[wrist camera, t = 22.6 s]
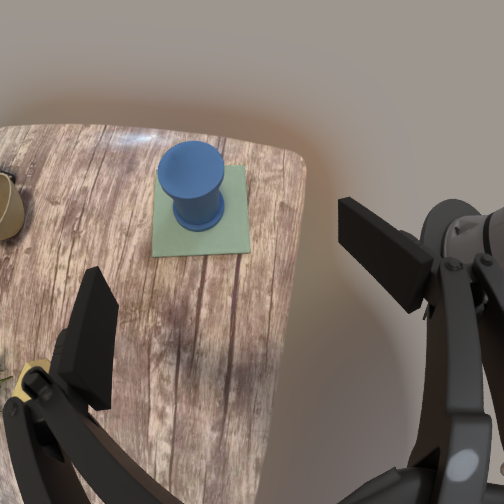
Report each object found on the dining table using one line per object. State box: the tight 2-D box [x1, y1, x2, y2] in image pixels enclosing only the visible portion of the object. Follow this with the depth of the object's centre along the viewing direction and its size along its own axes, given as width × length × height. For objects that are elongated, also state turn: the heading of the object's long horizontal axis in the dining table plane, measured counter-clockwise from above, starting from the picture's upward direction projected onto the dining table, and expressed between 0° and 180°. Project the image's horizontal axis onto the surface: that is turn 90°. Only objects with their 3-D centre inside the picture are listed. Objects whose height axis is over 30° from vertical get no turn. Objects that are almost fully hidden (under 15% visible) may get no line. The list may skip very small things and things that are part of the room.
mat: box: [152, 165, 251, 258], centre depth 36 cm, size 12×12×1 cm
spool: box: [158, 141, 224, 232], centre depth 31 cm, size 6×6×10 cm
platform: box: [12, 359, 51, 402], centre depth 26 cm, size 8×8×5 cm
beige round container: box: [0, 173, 25, 240], centre depth 30 cm, size 10×10×7 cm
